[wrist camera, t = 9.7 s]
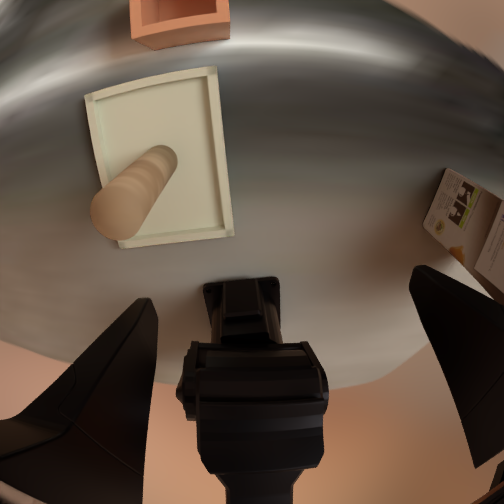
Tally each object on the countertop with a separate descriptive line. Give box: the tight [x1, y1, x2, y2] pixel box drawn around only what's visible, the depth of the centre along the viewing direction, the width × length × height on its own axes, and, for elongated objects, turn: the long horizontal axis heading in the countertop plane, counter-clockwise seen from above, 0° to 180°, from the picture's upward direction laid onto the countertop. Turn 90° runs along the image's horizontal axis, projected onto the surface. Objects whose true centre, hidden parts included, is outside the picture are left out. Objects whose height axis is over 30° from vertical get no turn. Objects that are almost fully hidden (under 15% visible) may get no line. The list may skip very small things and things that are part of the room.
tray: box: [85, 66, 234, 249], centre depth 19 cm, size 12×9×1 cm
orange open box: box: [130, 0, 230, 50], centre depth 11 cm, size 5×5×5 cm
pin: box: [90, 145, 178, 241], centre depth 15 cm, size 2×2×9 cm
